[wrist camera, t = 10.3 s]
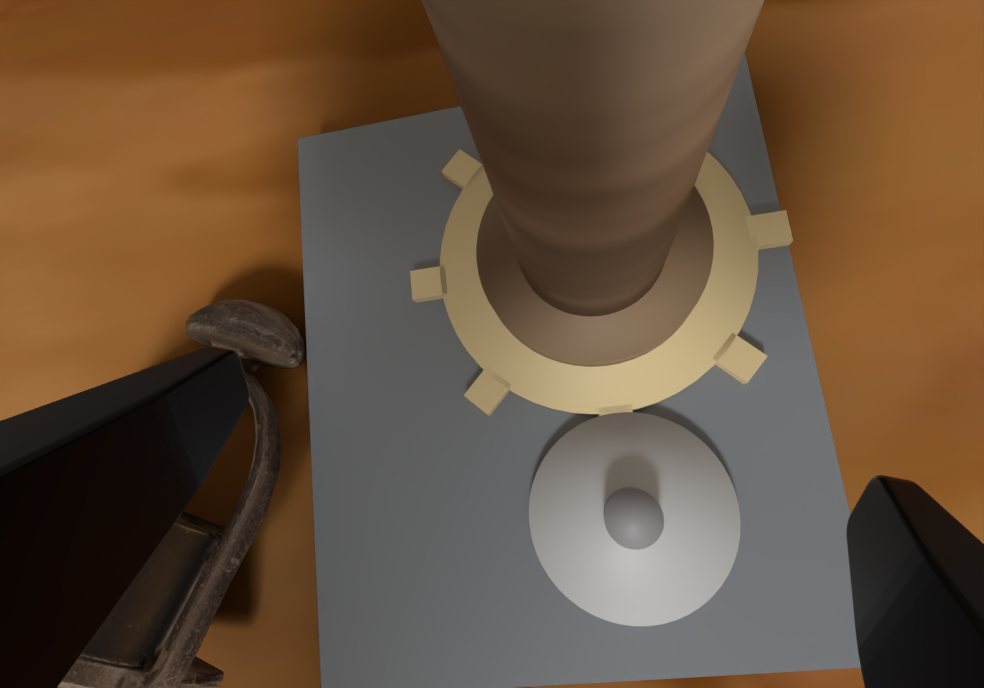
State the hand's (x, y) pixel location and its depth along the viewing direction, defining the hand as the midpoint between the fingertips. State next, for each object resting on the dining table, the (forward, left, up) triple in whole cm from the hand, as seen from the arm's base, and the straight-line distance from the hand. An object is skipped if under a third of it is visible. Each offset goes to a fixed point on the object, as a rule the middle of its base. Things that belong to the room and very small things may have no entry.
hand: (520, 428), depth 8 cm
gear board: (+3, 0, -12) cm, 12 cm away
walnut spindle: (+6, -2, -10) cm, 11 cm away
